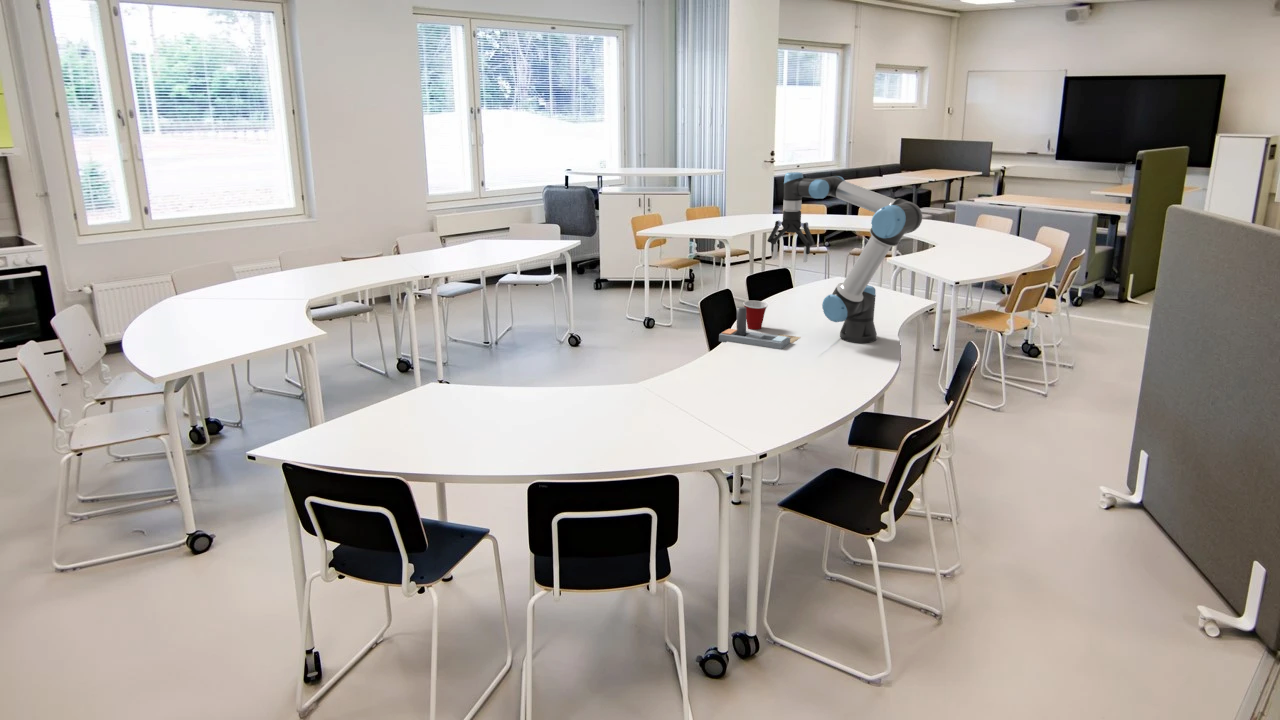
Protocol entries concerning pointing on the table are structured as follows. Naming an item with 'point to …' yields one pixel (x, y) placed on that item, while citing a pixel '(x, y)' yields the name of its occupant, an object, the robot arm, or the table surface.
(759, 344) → the socket block
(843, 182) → the robot arm
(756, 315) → the plastic cup
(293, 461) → the table surface
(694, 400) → the table surface
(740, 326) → the plug
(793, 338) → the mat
